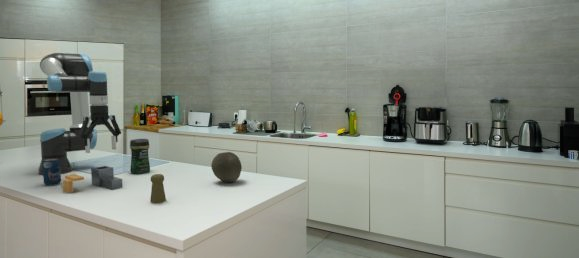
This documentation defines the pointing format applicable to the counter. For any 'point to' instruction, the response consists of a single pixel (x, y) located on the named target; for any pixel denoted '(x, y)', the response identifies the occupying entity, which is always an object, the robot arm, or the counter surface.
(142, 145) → the coffee jar
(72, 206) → the counter surface
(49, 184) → the soda can
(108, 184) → the link
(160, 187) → the cork
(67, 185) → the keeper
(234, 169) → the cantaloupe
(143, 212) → the counter surface
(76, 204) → the counter surface
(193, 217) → the counter surface
